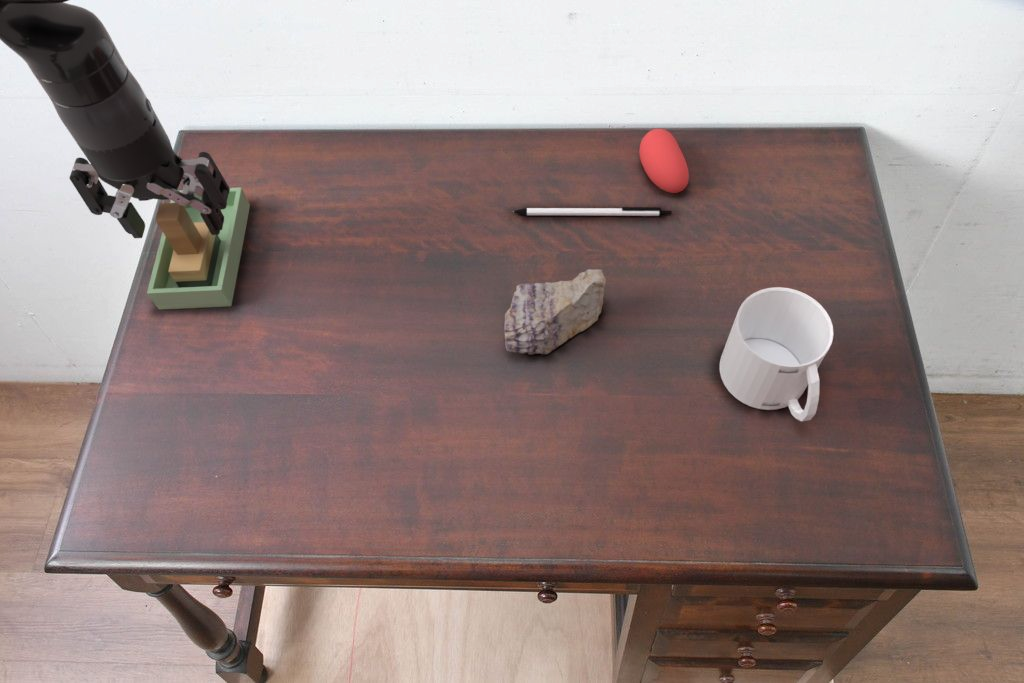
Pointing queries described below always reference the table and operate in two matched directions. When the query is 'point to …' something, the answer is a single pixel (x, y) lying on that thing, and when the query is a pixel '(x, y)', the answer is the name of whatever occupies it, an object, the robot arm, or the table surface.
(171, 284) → the tray
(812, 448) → the table surface
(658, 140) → the stress ball
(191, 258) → the scrub brush
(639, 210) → the pen
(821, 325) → the mug
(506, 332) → the mineral specimen
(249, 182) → the table surface
